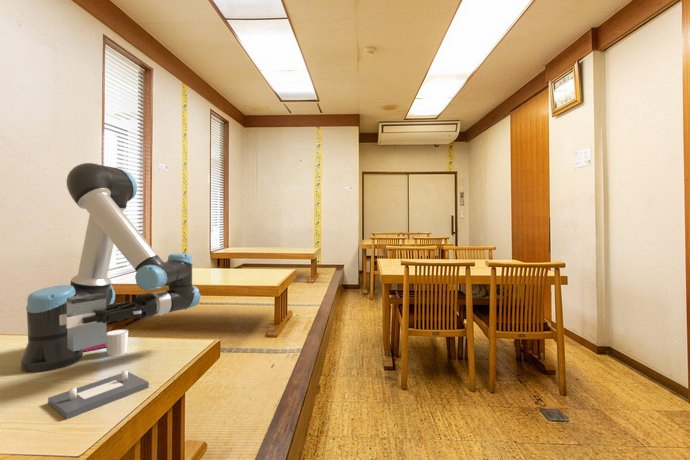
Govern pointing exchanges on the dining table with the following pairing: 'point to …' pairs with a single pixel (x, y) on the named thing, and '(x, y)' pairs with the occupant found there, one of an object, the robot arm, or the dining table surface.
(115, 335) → the white cylinder
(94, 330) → the block
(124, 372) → the slotted base plate
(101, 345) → the smartphone
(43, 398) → the dining table surface
